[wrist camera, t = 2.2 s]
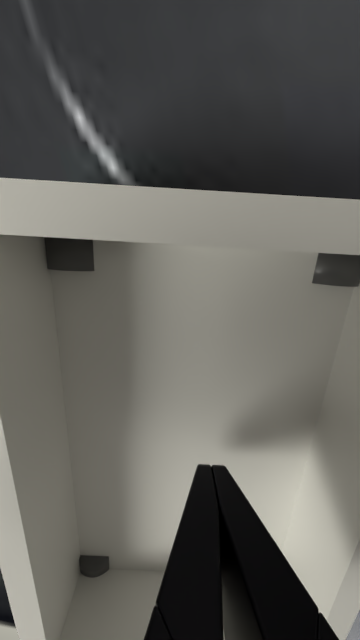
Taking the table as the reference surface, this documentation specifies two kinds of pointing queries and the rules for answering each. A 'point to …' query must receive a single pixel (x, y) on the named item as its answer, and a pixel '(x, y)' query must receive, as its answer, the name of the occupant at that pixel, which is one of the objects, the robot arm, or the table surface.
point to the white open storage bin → (172, 390)
